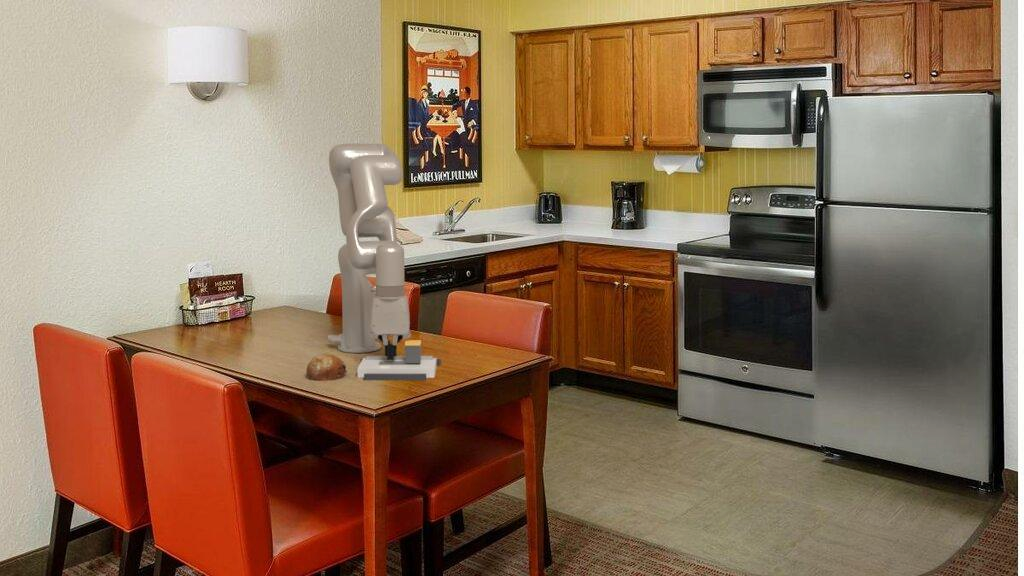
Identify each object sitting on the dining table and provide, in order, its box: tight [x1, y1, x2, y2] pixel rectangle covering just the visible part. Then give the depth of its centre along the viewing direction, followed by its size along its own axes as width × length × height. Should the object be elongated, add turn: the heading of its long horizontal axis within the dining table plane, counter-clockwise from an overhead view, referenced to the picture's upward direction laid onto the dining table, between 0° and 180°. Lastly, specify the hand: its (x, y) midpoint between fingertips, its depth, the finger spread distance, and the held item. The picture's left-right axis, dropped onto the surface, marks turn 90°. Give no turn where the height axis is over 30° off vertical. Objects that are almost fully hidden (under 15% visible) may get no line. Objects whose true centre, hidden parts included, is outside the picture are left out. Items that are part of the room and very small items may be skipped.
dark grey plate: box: [360, 358, 442, 381], centre depth 259 cm, size 22×18×1 cm
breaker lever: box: [404, 339, 422, 363], centre depth 258 cm, size 4×3×6 cm
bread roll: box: [306, 352, 348, 382], centre depth 253 cm, size 10×10×8 cm
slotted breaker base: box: [357, 355, 438, 379], centre depth 258 cm, size 20×12×3 cm, turn 91°
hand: (390, 358), depth 258 cm, fingers closed
